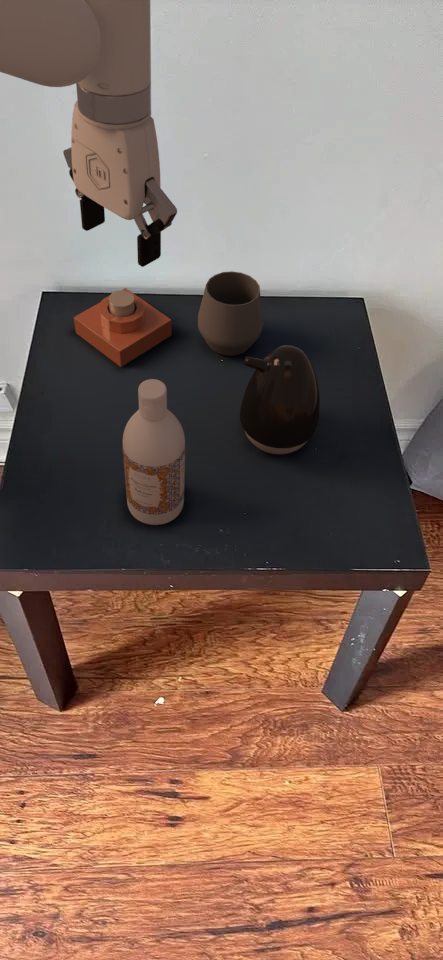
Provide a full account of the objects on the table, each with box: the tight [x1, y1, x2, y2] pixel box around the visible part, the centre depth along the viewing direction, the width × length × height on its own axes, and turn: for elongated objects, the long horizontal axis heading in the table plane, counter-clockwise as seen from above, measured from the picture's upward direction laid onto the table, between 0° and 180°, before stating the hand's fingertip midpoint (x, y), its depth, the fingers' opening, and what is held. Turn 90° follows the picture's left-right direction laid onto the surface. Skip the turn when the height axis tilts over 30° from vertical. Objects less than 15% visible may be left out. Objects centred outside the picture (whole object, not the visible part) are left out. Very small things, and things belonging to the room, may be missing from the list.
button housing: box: [73, 287, 172, 368], centre depth 109 cm, size 10×10×5 cm
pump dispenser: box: [239, 344, 321, 455], centre depth 94 cm, size 10×10×15 cm
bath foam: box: [121, 378, 186, 526], centre depth 84 cm, size 7×7×20 cm
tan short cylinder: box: [108, 290, 135, 317], centre depth 107 cm, size 4×4×2 cm
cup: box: [197, 270, 264, 357], centre depth 107 cm, size 10×9×10 cm
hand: (121, 243), depth 90 cm, fingers open, 9 cm apart
